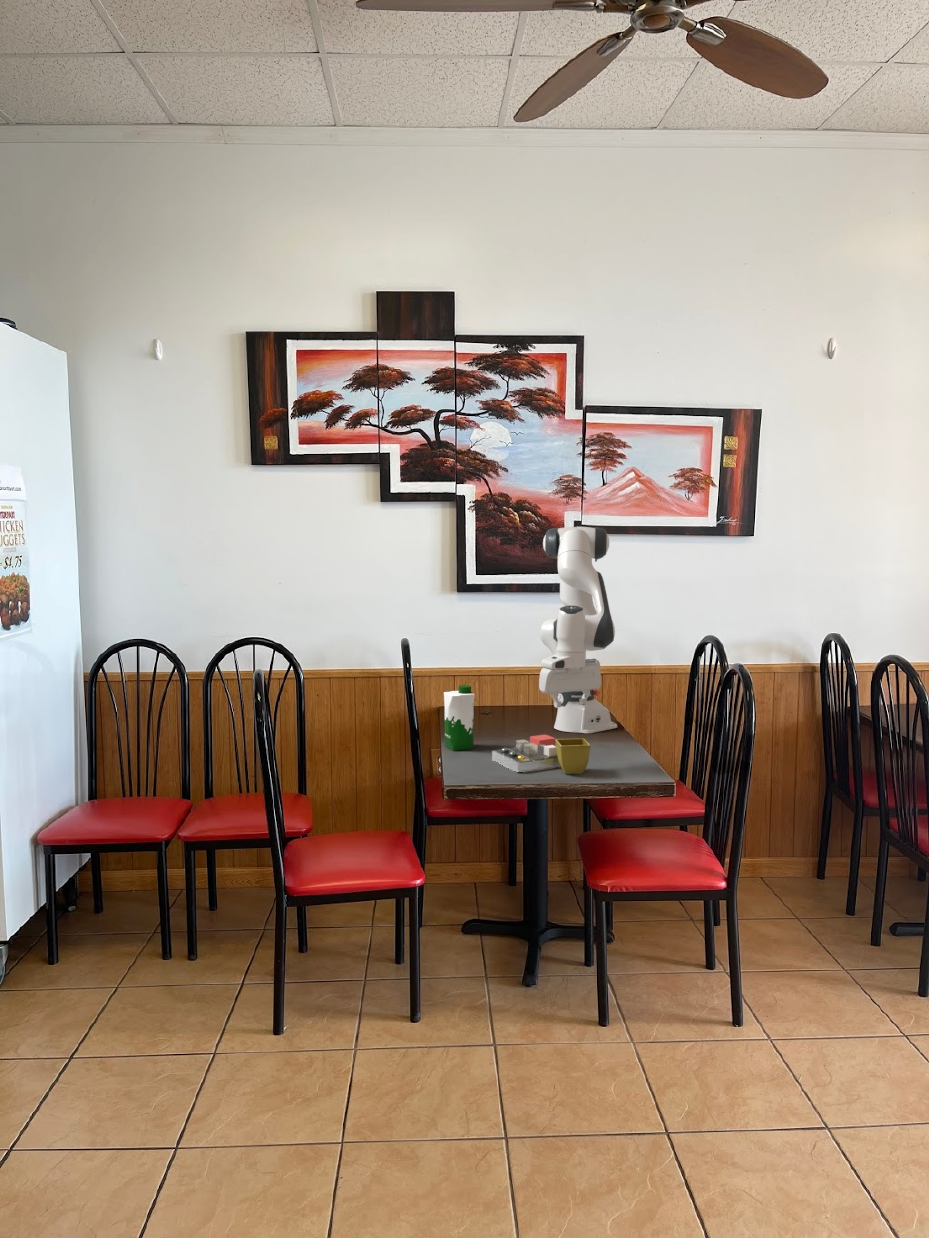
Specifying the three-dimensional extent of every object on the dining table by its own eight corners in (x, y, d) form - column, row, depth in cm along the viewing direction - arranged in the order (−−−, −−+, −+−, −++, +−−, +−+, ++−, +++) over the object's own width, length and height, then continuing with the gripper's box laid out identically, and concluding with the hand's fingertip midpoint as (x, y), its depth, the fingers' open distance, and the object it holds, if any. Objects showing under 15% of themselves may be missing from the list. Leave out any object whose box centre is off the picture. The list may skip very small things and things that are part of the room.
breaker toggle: (552, 753, 275) (552, 744, 275) (557, 755, 272) (557, 747, 272) (543, 754, 274) (543, 746, 273) (549, 756, 271) (549, 748, 271)
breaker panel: (542, 753, 287) (542, 735, 287) (570, 765, 273) (570, 747, 272) (492, 760, 279) (492, 742, 279) (517, 773, 265) (517, 754, 264)
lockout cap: (545, 745, 297) (545, 734, 297) (555, 750, 292) (555, 738, 291) (529, 748, 294) (529, 736, 294) (539, 752, 289) (539, 740, 289)
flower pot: (554, 768, 270) (555, 738, 269) (583, 767, 271) (584, 737, 270) (560, 776, 262) (560, 745, 261) (590, 775, 262) (590, 745, 261)
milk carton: (477, 749, 293) (477, 687, 291) (451, 752, 290) (451, 690, 287) (466, 743, 301) (466, 683, 299) (441, 745, 298) (440, 685, 295)
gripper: (594, 656, 280) (593, 701, 282) (536, 661, 272) (536, 706, 273) (605, 659, 275) (605, 704, 276) (547, 664, 266) (547, 710, 267)
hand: (570, 705), depth 275 cm, fingers open, 8 cm apart
